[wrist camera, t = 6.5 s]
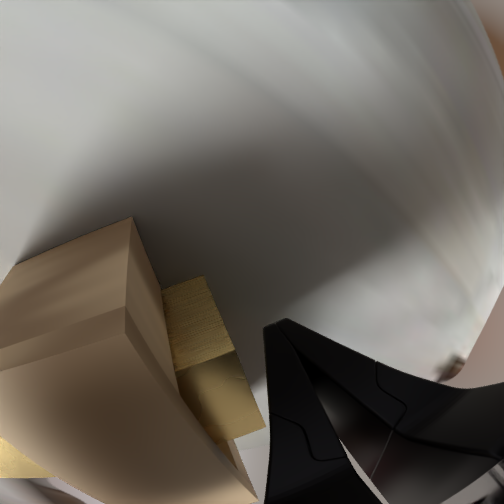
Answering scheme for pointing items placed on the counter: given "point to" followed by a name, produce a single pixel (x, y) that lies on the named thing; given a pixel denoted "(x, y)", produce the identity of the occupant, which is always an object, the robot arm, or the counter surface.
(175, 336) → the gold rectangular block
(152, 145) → the counter surface
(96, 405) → the light wood notched block
